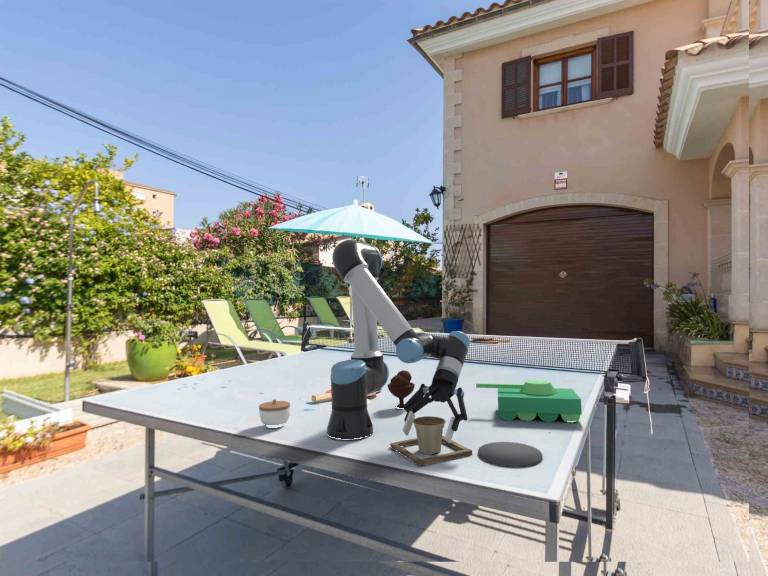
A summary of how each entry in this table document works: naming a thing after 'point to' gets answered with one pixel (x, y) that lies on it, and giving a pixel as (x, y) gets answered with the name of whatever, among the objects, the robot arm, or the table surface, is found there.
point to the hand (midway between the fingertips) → (425, 436)
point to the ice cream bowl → (401, 386)
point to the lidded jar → (274, 412)
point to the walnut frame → (460, 453)
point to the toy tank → (536, 401)
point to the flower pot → (429, 433)
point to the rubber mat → (510, 454)
